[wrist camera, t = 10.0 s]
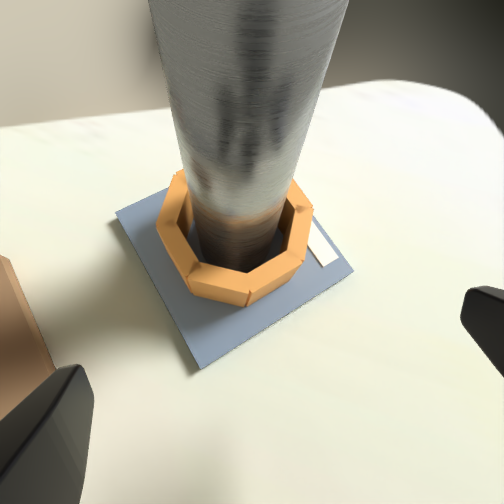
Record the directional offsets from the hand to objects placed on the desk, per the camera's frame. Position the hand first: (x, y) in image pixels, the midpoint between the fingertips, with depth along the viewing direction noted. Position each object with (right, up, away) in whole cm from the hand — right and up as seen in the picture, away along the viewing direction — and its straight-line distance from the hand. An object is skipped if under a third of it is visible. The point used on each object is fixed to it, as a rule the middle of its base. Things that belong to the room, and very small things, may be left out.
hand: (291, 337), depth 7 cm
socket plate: (-2, +2, +10) cm, 10 cm away
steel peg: (-2, +2, +9) cm, 10 cm away
